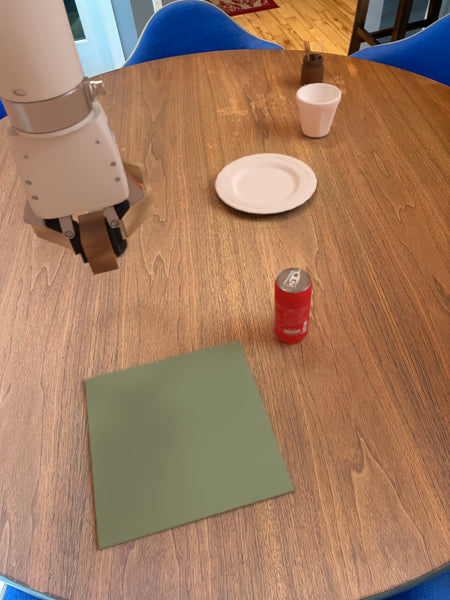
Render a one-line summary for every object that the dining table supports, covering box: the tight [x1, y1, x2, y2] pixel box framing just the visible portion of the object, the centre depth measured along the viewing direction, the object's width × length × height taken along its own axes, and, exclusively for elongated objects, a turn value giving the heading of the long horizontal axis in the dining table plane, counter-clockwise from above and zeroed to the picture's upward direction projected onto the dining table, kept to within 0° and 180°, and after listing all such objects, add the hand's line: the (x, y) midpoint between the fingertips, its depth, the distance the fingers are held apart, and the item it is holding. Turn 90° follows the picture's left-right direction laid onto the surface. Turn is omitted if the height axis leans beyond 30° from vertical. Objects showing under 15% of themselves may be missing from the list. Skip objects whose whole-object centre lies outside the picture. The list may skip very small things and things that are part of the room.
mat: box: [84, 338, 295, 551], centre depth 65 cm, size 24×24×1 cm
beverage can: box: [273, 267, 313, 345], centre depth 70 cm, size 5×5×12 cm
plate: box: [214, 152, 318, 216], centre depth 99 cm, size 21×21×2 cm
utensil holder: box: [300, 37, 325, 87], centre depth 124 cm, size 6×6×12 cm
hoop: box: [30, 157, 157, 276], centre depth 61 cm, size 16×21×5 cm
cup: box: [295, 82, 342, 139], centre depth 109 cm, size 10×10×9 cm
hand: (101, 250), depth 57 cm, fingers closed on hoop, 3 cm apart
